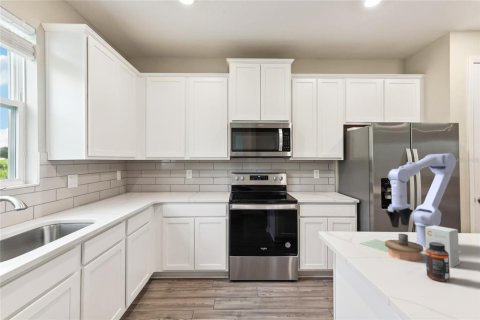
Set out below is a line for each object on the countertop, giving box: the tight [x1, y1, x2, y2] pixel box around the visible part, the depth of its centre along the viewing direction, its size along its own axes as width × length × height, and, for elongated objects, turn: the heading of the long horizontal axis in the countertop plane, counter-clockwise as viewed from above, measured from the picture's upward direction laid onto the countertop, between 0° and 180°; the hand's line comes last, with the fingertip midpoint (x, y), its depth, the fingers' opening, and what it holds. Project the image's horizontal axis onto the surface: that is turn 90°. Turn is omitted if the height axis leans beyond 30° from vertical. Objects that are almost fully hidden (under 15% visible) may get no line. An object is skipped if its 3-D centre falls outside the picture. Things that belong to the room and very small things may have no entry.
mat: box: [359, 239, 389, 253], centre depth 114 cm, size 13×13×1 cm
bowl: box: [387, 248, 422, 262], centre depth 100 cm, size 11×11×4 cm
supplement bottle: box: [425, 242, 451, 282], centre depth 81 cm, size 6×6×11 cm
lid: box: [384, 233, 424, 253], centre depth 100 cm, size 13×13×6 cm
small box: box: [425, 225, 460, 268], centre depth 94 cm, size 8×6×13 cm
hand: (399, 226), depth 110 cm, fingers open, 7 cm apart
